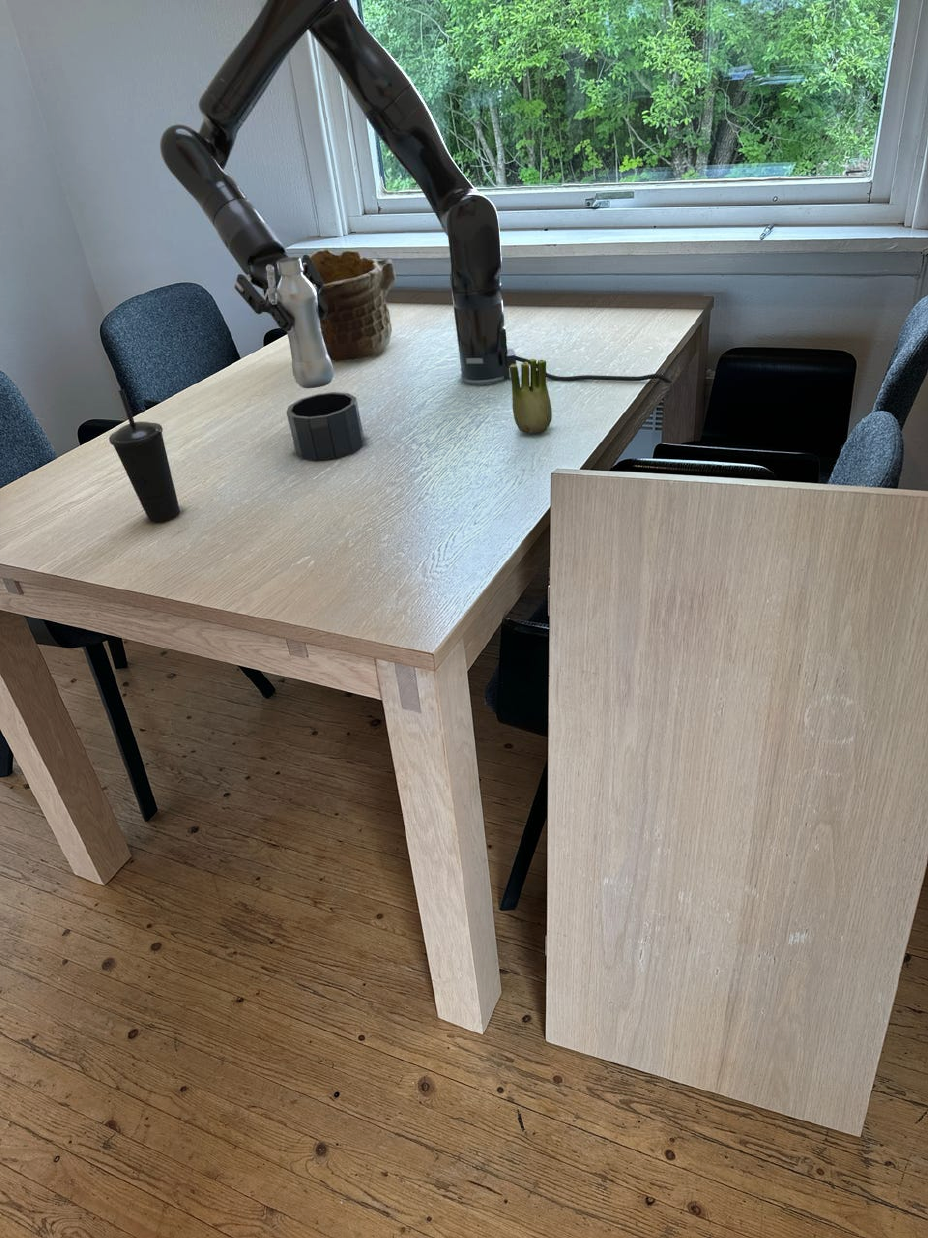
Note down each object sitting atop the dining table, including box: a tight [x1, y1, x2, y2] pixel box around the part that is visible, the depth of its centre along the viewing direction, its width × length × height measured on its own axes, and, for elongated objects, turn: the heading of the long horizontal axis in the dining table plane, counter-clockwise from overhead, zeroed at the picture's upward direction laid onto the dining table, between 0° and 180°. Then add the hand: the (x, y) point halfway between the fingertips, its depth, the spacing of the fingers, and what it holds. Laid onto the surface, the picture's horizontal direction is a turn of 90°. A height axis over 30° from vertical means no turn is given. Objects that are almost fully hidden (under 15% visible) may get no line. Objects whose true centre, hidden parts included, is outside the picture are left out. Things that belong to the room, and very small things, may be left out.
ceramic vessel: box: [309, 248, 397, 362], centre depth 188 cm, size 23×24×25 cm
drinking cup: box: [108, 389, 181, 524], centre depth 130 cm, size 8×8×20 cm
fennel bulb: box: [509, 358, 553, 435], centre depth 142 cm, size 6×5×12 cm
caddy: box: [285, 391, 365, 462], centre depth 149 cm, size 12×12×8 cm
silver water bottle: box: [276, 256, 334, 389], centre depth 139 cm, size 6×7×20 cm
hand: (307, 321), depth 138 cm, fingers closed on silver water bottle, 6 cm apart
